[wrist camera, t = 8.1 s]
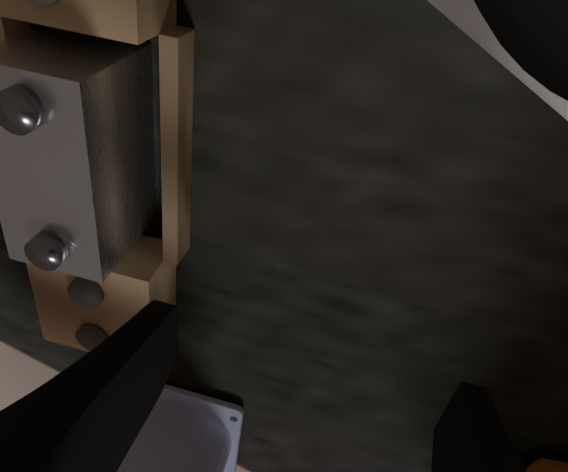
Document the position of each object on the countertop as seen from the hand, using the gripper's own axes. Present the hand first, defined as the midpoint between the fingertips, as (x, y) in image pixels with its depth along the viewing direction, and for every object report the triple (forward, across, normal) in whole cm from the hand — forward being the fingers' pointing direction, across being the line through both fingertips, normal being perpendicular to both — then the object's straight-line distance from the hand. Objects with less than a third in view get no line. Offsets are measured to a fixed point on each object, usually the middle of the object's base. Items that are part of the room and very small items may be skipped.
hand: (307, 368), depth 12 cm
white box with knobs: (+10, +10, 0) cm, 14 cm away
